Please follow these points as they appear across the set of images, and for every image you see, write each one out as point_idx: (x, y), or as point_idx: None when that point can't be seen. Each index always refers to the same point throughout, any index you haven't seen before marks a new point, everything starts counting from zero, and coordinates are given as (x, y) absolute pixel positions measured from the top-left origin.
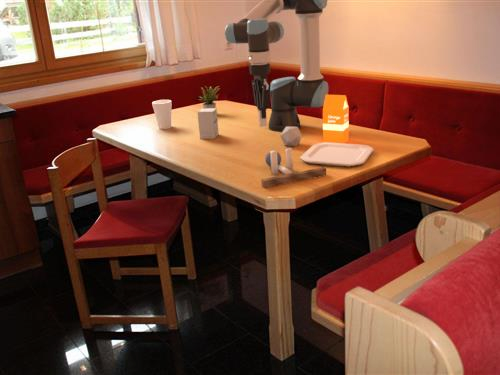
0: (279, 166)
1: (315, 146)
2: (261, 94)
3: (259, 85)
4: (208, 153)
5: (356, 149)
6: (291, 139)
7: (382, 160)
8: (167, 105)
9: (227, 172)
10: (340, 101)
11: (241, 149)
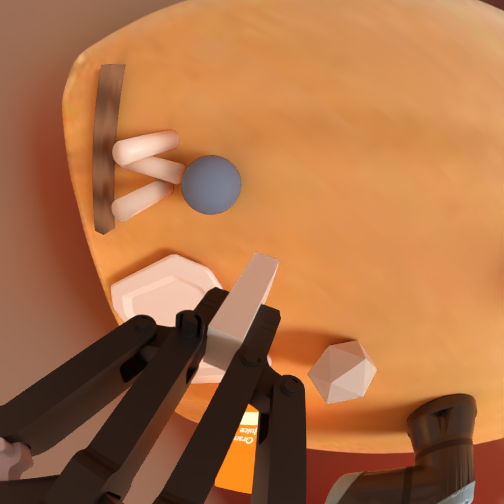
0: (168, 166)
1: None
2: (102, 435)
3: (48, 501)
4: None
5: None
6: (322, 355)
7: None
8: None
9: (290, 31)
10: (223, 473)
11: (460, 245)
